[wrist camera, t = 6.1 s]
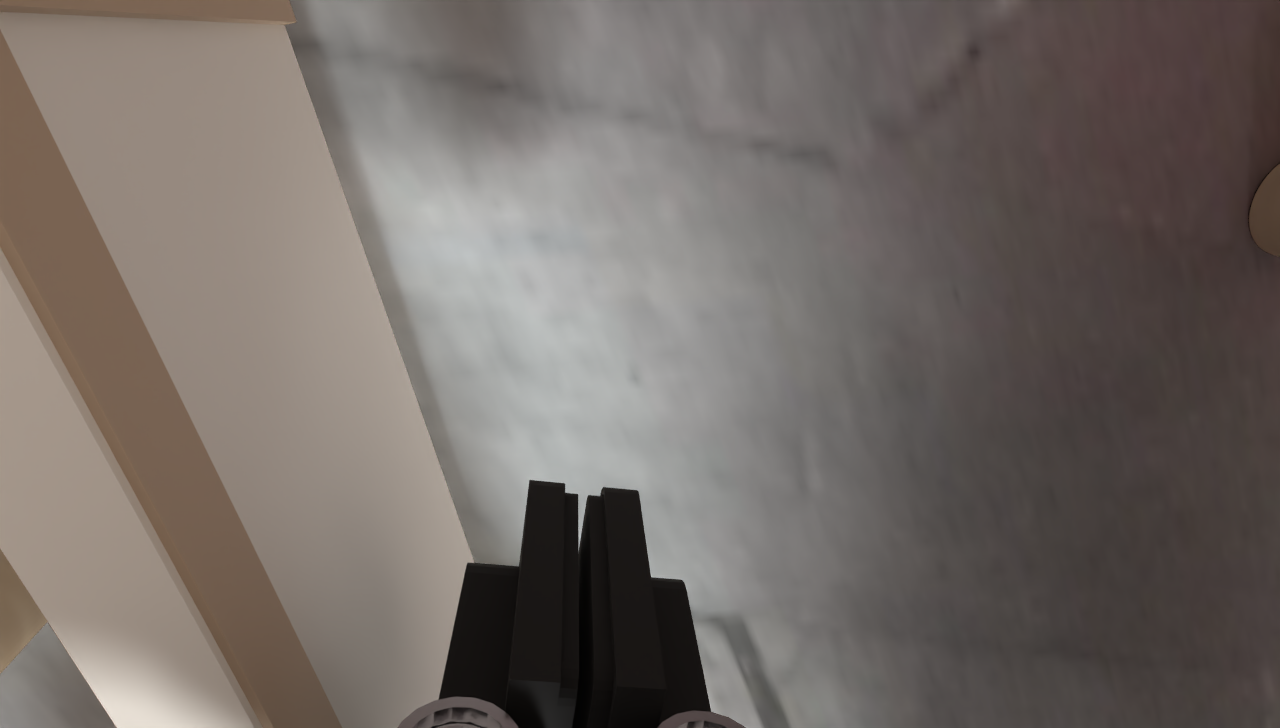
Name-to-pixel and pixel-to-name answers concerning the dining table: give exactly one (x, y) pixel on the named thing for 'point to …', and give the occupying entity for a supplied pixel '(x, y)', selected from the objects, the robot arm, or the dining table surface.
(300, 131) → the gate
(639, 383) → the dining table surface
